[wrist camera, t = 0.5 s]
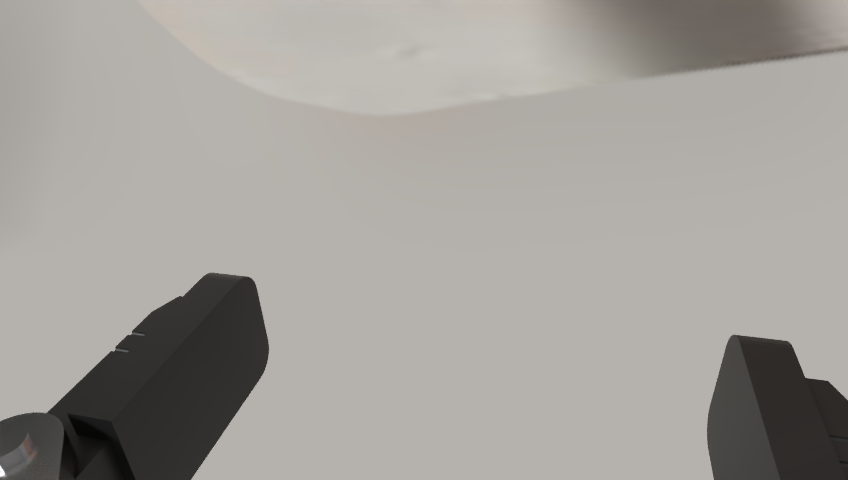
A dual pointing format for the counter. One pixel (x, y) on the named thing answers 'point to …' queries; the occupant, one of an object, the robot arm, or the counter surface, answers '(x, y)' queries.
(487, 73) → the counter surface
